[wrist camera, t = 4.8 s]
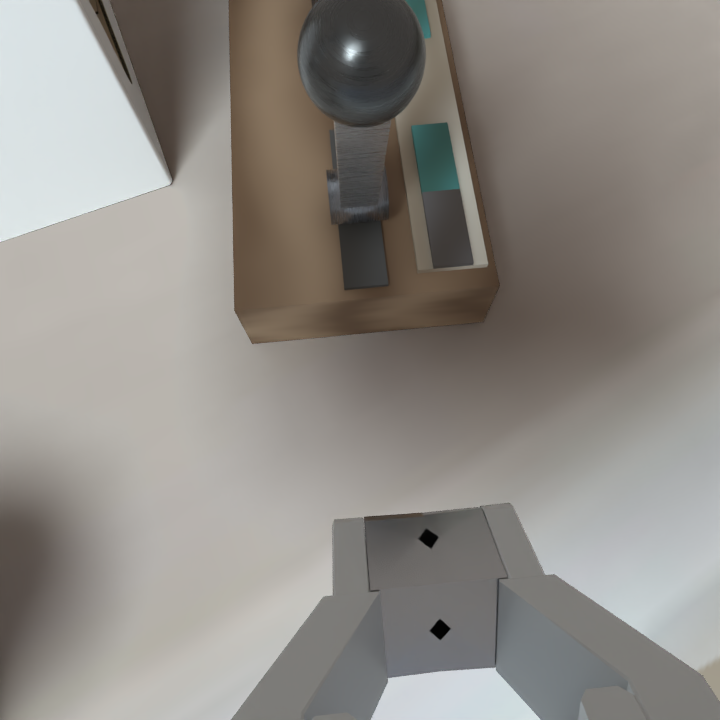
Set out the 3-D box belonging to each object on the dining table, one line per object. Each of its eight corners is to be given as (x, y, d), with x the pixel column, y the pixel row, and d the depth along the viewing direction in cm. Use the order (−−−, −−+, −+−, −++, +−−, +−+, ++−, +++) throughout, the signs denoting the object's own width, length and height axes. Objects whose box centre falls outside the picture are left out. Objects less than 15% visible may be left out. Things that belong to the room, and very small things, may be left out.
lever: (326, 239, 27) (297, 97, 12) (320, 172, 27) (283, -46, 12) (393, 233, 27) (441, 84, 12) (387, 165, 27) (427, -59, 12)
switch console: (252, 343, 29) (231, 305, 25) (242, 15, 37) (225, -57, 33) (483, 322, 29) (502, 279, 25) (422, -1, 37) (429, -74, 33)
